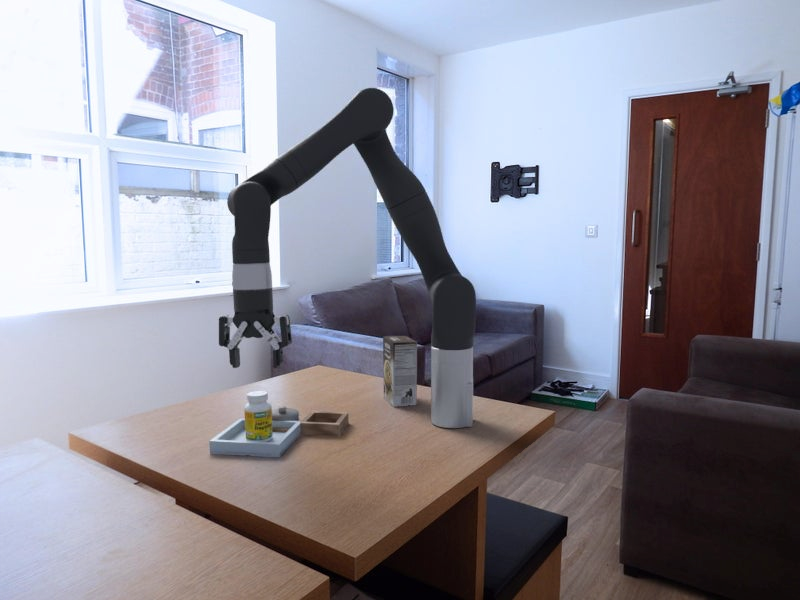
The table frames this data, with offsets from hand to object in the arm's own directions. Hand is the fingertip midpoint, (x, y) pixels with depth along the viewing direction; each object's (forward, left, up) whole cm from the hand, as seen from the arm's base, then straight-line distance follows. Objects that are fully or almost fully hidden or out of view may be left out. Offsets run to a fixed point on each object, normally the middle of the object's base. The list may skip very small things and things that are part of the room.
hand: (256, 367), depth 115 cm
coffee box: (-24, -33, -16) cm, 44 cm away
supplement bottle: (0, 0, -15) cm, 15 cm away
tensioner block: (-6, -10, -16) cm, 19 cm away
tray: (0, 0, -16) cm, 16 cm away
